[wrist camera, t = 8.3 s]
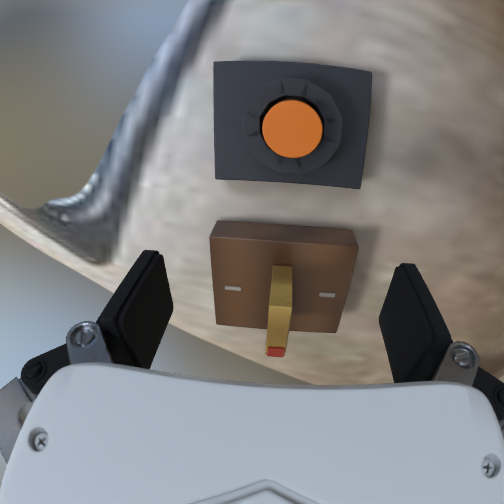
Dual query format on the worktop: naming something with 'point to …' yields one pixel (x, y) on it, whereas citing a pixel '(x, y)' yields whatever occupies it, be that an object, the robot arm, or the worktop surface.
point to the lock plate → (281, 254)
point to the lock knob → (279, 311)
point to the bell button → (292, 128)
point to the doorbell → (290, 88)
